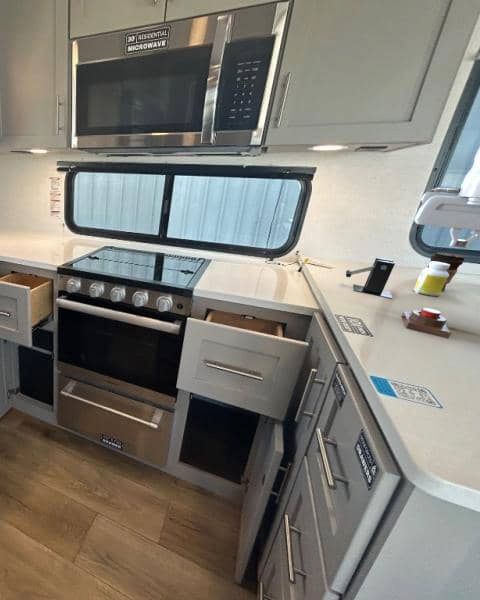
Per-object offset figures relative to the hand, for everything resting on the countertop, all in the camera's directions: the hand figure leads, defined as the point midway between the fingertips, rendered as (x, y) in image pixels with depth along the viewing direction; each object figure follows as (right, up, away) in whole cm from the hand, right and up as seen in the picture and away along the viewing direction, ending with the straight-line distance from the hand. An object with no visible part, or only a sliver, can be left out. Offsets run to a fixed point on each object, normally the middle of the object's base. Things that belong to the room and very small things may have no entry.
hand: (458, 247), depth 84 cm
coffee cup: (+33, -10, +37) cm, 50 cm away
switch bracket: (+2, -12, +27) cm, 30 cm away
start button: (-4, -18, +3) cm, 19 cm away
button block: (-4, -21, +5) cm, 22 cm away
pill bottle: (+22, -12, +29) cm, 38 cm away
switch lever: (0, -4, +26) cm, 27 cm away
